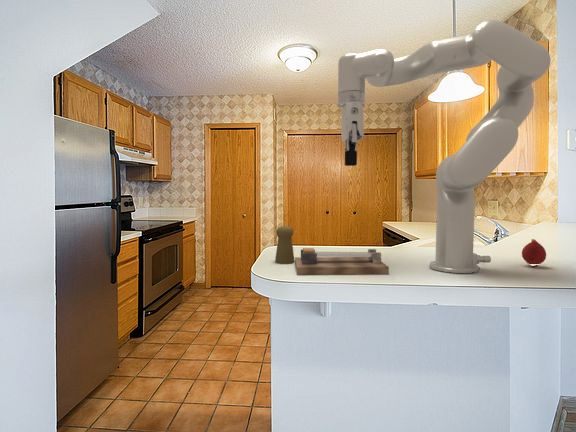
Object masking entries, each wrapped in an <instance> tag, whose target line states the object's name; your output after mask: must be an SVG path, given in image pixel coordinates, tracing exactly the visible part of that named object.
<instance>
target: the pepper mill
mask: <svg viewBox="0 0 576 432" xmlns="http://www.w3.org/2000/svg"><path fill="white" fill-rule="evenodd" d="M275 233H276V236H277V244H276V245H277V246H276V251H275V261H274V263H275V264H279V265H292V264H295V263H294V262H295V255H294V246H293V238H292V237H293V236H294V229H293V228H292V227H291V226H286V225H283V226H279V227H277V229H276V232H275Z"/></svg>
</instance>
